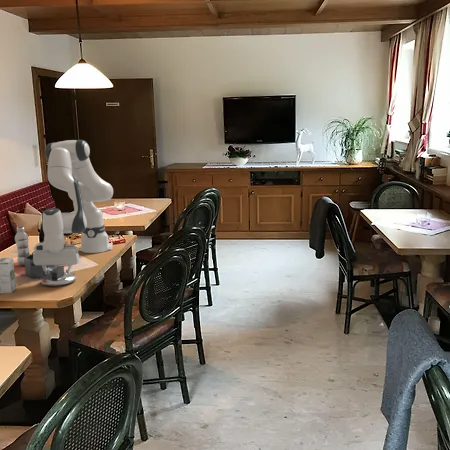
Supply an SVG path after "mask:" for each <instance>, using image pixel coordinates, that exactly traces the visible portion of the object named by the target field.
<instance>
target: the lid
mask: <svg viewBox="0 0 450 450" xmlns="http://www.w3.org/2000/svg"><path fill="white" fill-rule="evenodd" d="M64 266H65V265H59V266H58V267H57V268H56V269H55V270H54V271H53V272H51V274H49V275H46V276H44V277H42V278H41V279H40V284H41V285H44V286H49V287H59V286H60V287H61V286H65V285H67V284H71V283H72V282H75V281H76V280H77V275H76V274H75V273H74V272H70V274H66V271H65V267H64Z"/></svg>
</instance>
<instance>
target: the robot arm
mask: <svg viewBox="0 0 450 450" xmlns="http://www.w3.org/2000/svg"><path fill="white" fill-rule="evenodd" d="M90 151H91V149H90V145H89V143H88V142H87V141H86V140H83V139H77V140H76V139H71V140H70V139H68V140H63V141H62V140H61V141H57V142H51V143H50V142H49V143H47V145H46V147H45V148H44V156H45V159H46V160H47V161H48V162H47V180H48V182H49V184H50V185H51V186H52V187H54V188H56V189H58V190H61V191H64V192H66V193H67V194H68V198H70V199H71V200H72V202H73V203H72V204H73V209H74V210H73V211H72V212H61V210H60V209H59V208H55V207H51V208H48V209H45V210H43V212H42V231H43V234H44V235H43V236H44V237H43V241H41V242H39V243H37V244H35V245H34V247H33V249H34V251H33V253H32V254H33V262H34V264H35V265H36V266H37V265H42V268H43V269H44V271H45V274H50V272H49V271H50V270H48V269H47V268H46V266H47V265H59V266H65V265H66V266H67V269H66V270H65V272H66V274H70V273H71V269H72V267H73V265H75V266H76V265H77V264H78V263H80V255H79V252H82V253H84V254H85V253H86V254H98V253H99V254H100V253H103V252H106V251H107V252H108V251H112V250H113V245H114V244H113V242H112V241H110V240H109V235H108V234H107V232H106V227H105V226H106V225H105V223H104V217H103V216H104V215H103V214H104V213H103V212H102V210H101V208H98V207H97V206H96V205H95V204H94V203H96V202H98V203H100V202H102V203H103V202H107V201H110V200H111V199H112V198H113V195H114V188H113V186H112V185H111V184H110V183H109V182H107V181H105V180H104V179H102V178H101V177H100V176H99V175H98V174H97V172H96V171H95V170H94V167H93V165H92V163H91V159H90V154H91V152H90ZM64 234H75V235H76V234H79V235H81V236H80V248H79V246H77V245H76V244H74V243H73V244H69V243H68V244H66V239H65V235H64ZM109 242H111V243H109Z"/></svg>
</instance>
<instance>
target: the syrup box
mask: <svg viewBox="0 0 450 450" xmlns="http://www.w3.org/2000/svg"><path fill="white" fill-rule="evenodd" d="M16 289H17V288H16V275H15V265H14V258H13V257H2V258H0V294H12V293H14V291H16Z"/></svg>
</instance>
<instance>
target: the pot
mask: <svg viewBox="0 0 450 450" xmlns="http://www.w3.org/2000/svg"><path fill="white" fill-rule="evenodd" d="M24 263H25V265H24V270H25V277H26V278H28V279H31V280H34V279H35V280H36V279H37V280H38V279H40V280H41V278H42V277H44V276H46V275H49V274H45V271H44V269H43V268H42V265H37V266H36V265H35V264H34V262H33V253H32V254H31V253H30V255H28V256H26V257H25V258H24ZM58 266H60V265H47V266H46V268H47V269H48V270H50V271H49V272H50V274H51V272H53V271H54V270H55V269H56V268H57V267H58Z"/></svg>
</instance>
